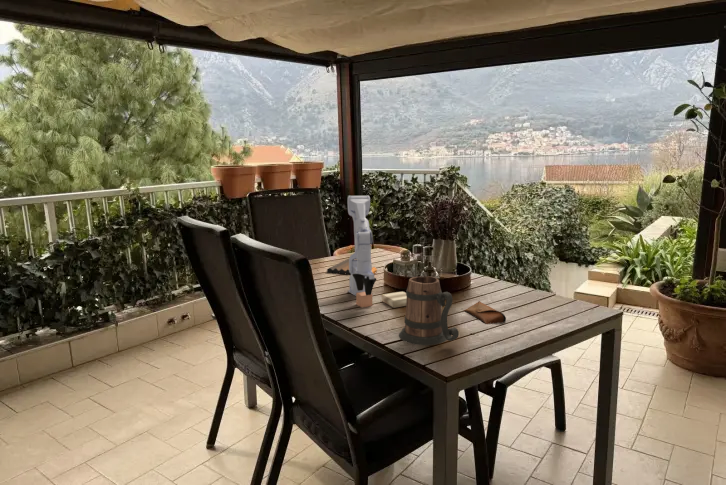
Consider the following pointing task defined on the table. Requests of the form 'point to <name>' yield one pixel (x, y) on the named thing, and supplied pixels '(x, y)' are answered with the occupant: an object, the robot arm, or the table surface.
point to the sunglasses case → (486, 313)
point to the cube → (363, 299)
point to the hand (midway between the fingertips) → (364, 292)
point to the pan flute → (344, 268)
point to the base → (395, 299)
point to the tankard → (427, 313)
